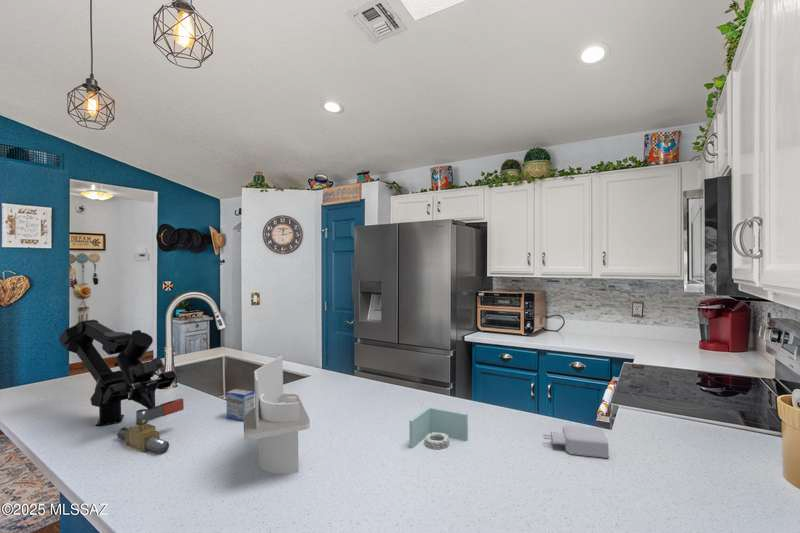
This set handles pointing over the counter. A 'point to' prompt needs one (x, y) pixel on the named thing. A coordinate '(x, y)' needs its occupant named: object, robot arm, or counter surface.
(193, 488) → the counter surface
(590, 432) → the charger
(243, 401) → the medicine box
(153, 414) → the lever
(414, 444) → the l-shaped corner panel
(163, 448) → the valve
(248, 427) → the architectural model
